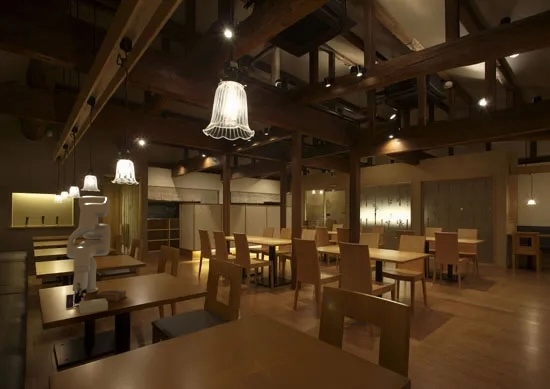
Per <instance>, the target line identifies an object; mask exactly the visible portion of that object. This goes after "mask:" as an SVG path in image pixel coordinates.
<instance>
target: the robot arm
mask: <svg viewBox="0 0 550 389" xmlns="http://www.w3.org/2000/svg"><path fill="white" fill-rule="evenodd" d="M110 205H111V200H110V198H109V197H108V196H101V195H100V196H99V195H97V196H95V195H84V196H81V197H80V198H78V206H79V209H80V212H79V220H78V221H79V222H78V228H77V229H75V230H74V231H73V232H72V233H71V234H70V235H69V238H68V239H67V245H66V257H67V258H69V259H73V273H74V275H73V282H72V292H74V293H73V294H74V302H73V304H74V303H79V302H80V301H81V299H83V295H82V296H81V293H86V296H87V294H91V293H94V292H97V291H98V290H99V288H98V287H97V285H96V284H97V282H96V280H97V277H96V276H97V260H96V259H95V258H94V257H96V256H98V257H99V256H107V255H109V253H110V250H111V233H112V232H111V226H110V224H107V223H99V218H103V217H107V216H108V214H109V211H110V210H109V209H110ZM81 236H82V237H83V238H84V239H95V240H84V241H80V242H79V243H78V244H75V241H76V239H77V238H78V237H81ZM96 239H101V240H96Z"/></svg>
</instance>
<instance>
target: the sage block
mask: <svg viewBox="0 0 550 389" xmlns="http://www.w3.org/2000/svg"><path fill="white" fill-rule="evenodd" d="M108 309H109V301H107V300H106V298H102V299H96V298H95V299H89V300H86V301H83V300H82V301H80V302H79V304H78V310H79V313H80V315H85V314H90V313H97V312H103V311H108Z"/></svg>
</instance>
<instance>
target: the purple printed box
mask: <svg viewBox="0 0 550 389" xmlns="http://www.w3.org/2000/svg"><path fill="white" fill-rule="evenodd" d="M82 295H83V298H81V301H87V295H86V293H81V296H82ZM77 307H78V308H79V303H74V293H70V294H66V296H65V308H66V309H70V308H77Z"/></svg>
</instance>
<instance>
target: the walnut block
mask: <svg viewBox="0 0 550 389" xmlns="http://www.w3.org/2000/svg"><path fill="white" fill-rule="evenodd" d="M126 293H127V291H126V290H125V289H124V290H123V289H105V290H102V291H101V292H97V293H96V294H95V299H102V298H106V300H107V302H118V301H119V300H122V299H124V298H125V297H126Z"/></svg>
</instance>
